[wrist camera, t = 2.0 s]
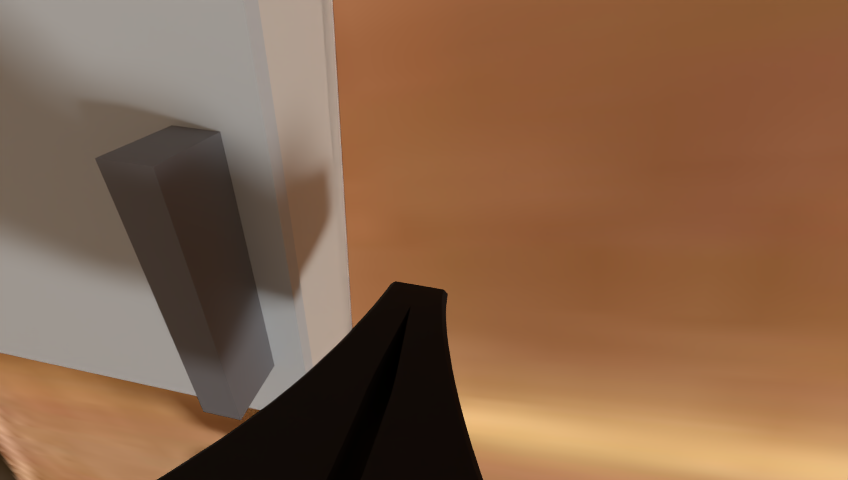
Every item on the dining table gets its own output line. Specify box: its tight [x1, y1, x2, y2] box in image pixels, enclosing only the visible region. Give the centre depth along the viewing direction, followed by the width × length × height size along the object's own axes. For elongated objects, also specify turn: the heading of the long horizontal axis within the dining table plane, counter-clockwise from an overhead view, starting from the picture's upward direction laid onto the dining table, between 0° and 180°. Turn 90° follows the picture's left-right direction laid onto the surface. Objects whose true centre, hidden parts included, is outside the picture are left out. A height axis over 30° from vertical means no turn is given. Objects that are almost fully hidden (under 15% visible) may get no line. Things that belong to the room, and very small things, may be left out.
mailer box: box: [258, 0, 352, 367], centre depth 14 cm, size 14×18×4 cm
